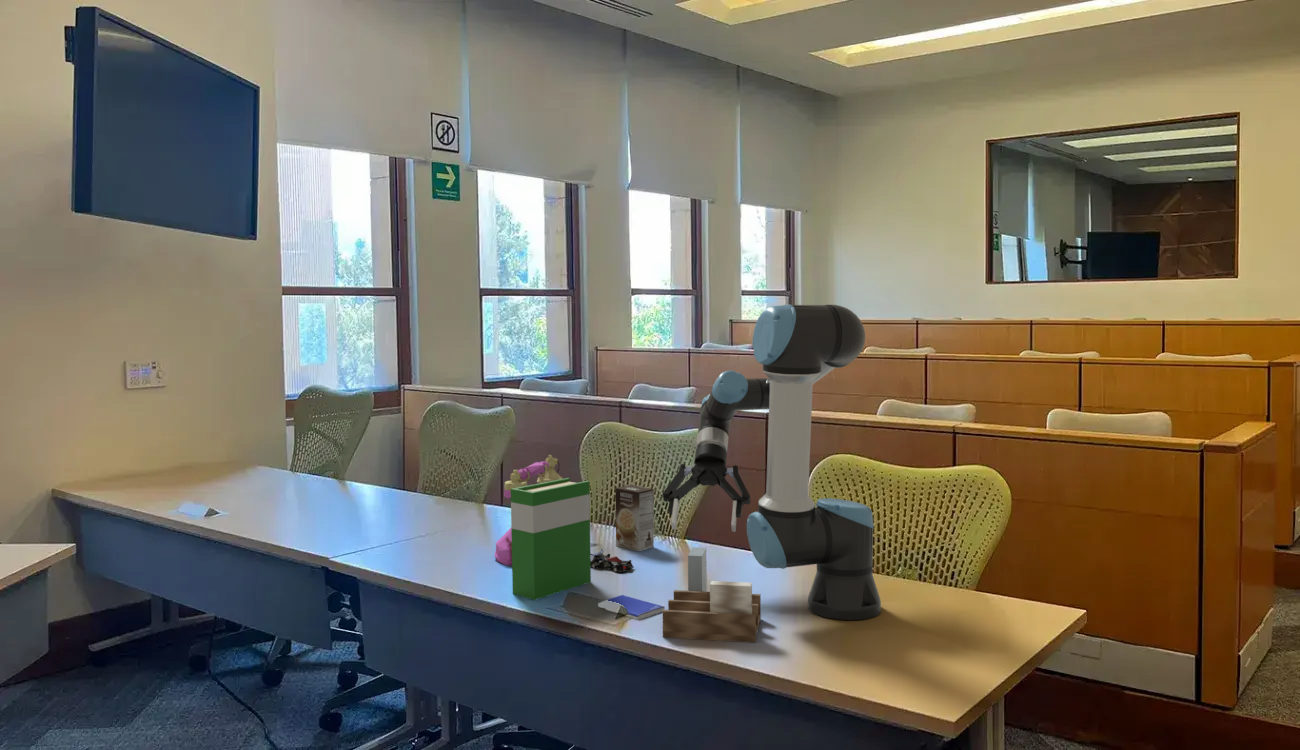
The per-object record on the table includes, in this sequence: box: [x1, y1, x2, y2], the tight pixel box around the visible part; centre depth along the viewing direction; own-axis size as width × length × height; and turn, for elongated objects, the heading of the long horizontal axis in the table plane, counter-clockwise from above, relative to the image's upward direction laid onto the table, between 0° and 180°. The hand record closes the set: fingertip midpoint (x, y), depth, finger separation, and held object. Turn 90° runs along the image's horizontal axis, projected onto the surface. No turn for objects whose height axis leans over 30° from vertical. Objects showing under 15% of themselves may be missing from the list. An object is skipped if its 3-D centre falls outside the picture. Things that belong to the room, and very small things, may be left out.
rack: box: [662, 580, 762, 643], centre depth 190 cm, size 18×14×10 cm
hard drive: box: [607, 594, 666, 621], centre depth 203 cm, size 2×8×12 cm
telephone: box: [494, 454, 564, 566], centre depth 250 cm, size 36×22×25 cm, turn 161°
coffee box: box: [614, 484, 655, 552], centre depth 255 cm, size 9×6×16 cm
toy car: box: [590, 548, 635, 574], centre depth 234 cm, size 6×12×4 cm, turn 55°
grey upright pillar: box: [687, 546, 708, 592], centre depth 203 cm, size 3×7×12 cm, turn 169°
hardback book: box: [510, 477, 592, 601], centre depth 218 cm, size 18×7×24 cm, turn 139°
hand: (703, 527), depth 213 cm, fingers open, 13 cm apart
